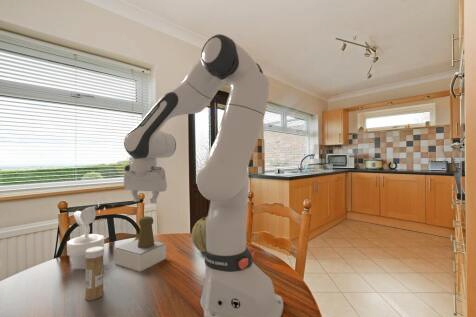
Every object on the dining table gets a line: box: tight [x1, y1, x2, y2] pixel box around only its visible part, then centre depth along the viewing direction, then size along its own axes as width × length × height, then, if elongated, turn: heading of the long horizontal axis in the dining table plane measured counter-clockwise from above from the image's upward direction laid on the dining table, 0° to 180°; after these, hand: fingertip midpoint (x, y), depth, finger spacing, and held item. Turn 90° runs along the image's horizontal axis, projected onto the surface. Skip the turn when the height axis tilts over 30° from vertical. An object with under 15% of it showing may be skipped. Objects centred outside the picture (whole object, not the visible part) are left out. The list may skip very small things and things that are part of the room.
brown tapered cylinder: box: [137, 215, 155, 248], centre depth 87 cm, size 6×6×11 cm
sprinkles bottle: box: [84, 246, 105, 301], centre depth 64 cm, size 5×5×14 cm
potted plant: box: [66, 199, 106, 271], centre depth 83 cm, size 13×12×25 cm
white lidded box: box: [114, 238, 167, 272], centre depth 87 cm, size 14×12×6 cm
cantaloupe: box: [191, 216, 207, 253], centre depth 96 cm, size 15×15×15 cm
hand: (144, 202), depth 88 cm, fingers open, 8 cm apart
